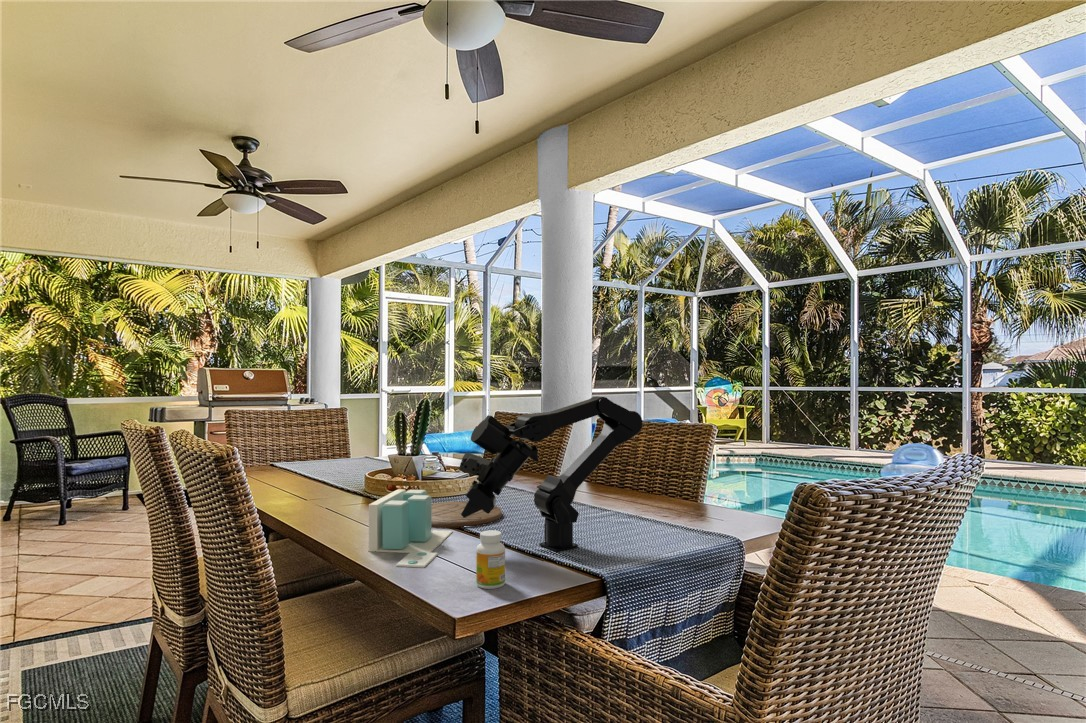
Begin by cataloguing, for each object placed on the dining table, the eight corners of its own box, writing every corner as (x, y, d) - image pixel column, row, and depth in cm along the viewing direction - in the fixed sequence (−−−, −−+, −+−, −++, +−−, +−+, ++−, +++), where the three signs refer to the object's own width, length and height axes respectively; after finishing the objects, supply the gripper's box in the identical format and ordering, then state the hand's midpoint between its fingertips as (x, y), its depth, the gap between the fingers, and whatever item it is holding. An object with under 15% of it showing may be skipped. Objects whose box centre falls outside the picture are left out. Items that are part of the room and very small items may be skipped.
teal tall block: (408, 543, 146) (409, 500, 146) (401, 549, 141) (402, 504, 141) (390, 542, 146) (390, 500, 146) (382, 548, 142) (382, 504, 142)
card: (437, 554, 139) (437, 552, 139) (424, 567, 130) (424, 564, 130) (411, 553, 140) (411, 551, 140) (396, 566, 131) (396, 563, 131)
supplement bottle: (473, 581, 122) (473, 530, 122) (500, 578, 124) (500, 528, 124) (480, 591, 117) (480, 537, 117) (508, 587, 119) (508, 535, 119)
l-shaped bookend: (452, 532, 158) (452, 490, 158) (429, 553, 140) (429, 506, 140) (398, 530, 160) (398, 489, 160) (368, 551, 142) (368, 504, 142)
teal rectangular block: (426, 529, 159) (426, 489, 159) (421, 534, 154) (421, 493, 154) (409, 528, 159) (409, 489, 159) (403, 533, 155) (403, 492, 155)
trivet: (518, 513, 180) (518, 506, 180) (467, 534, 158) (467, 526, 158) (445, 504, 192) (445, 498, 192) (389, 522, 170) (389, 515, 170)
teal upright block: (431, 536, 152) (431, 495, 152) (425, 541, 147) (425, 499, 147) (413, 536, 152) (413, 494, 152) (406, 541, 148) (406, 498, 148)
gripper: (484, 431, 150) (443, 480, 152) (471, 451, 132) (425, 506, 133) (521, 461, 150) (479, 510, 152) (513, 485, 132) (466, 540, 134)
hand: (462, 515), depth 143 cm, fingers closed
